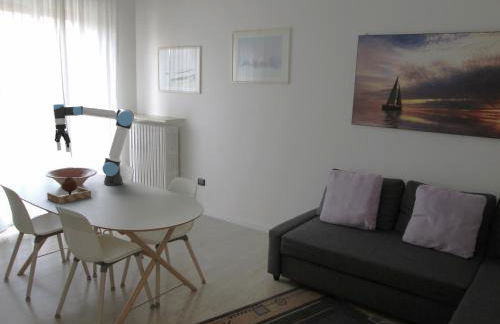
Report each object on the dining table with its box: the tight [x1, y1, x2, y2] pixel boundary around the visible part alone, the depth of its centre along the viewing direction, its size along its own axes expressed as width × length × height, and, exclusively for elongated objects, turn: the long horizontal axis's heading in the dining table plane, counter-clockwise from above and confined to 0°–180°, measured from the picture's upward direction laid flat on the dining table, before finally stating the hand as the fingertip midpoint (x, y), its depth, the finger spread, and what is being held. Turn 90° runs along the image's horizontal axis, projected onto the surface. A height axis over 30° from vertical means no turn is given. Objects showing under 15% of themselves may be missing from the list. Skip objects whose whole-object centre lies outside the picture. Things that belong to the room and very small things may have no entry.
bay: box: [46, 186, 92, 205], centre depth 299 cm, size 24×17×5 cm
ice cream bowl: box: [60, 176, 78, 195], centre depth 298 cm, size 11×11×15 cm
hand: (63, 151), depth 319 cm, fingers open, 13 cm apart
